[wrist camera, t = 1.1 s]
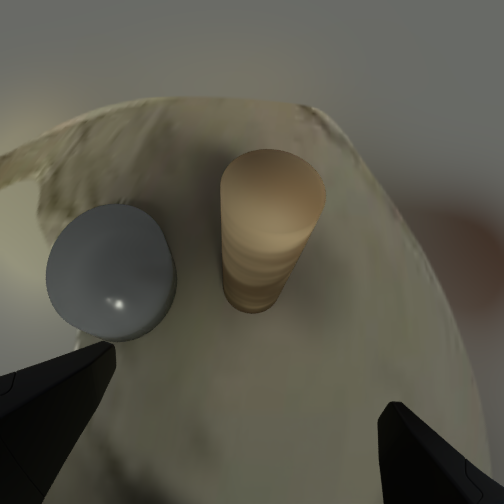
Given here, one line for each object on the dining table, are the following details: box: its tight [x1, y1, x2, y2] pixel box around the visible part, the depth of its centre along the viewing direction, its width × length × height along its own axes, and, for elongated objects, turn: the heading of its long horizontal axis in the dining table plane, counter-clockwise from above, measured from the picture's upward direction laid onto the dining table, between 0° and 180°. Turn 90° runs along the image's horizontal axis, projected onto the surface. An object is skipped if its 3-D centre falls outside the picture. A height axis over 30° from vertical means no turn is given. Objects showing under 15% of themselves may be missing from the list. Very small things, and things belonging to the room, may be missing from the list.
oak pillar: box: [220, 149, 326, 314], centre depth 18 cm, size 4×4×12 cm
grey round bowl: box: [46, 204, 177, 342], centre depth 21 cm, size 10×10×4 cm
